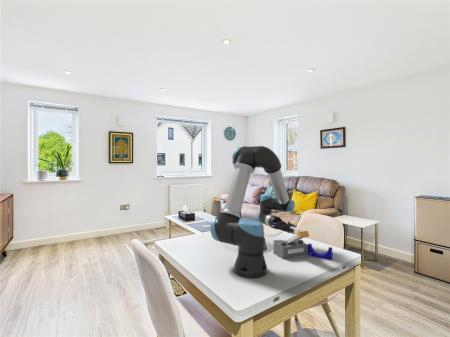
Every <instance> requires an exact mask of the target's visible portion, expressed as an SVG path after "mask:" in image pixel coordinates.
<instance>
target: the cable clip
mask: <svg viewBox="0 0 450 337" xmlns="http://www.w3.org/2000/svg"><path fill="white" fill-rule="evenodd" d="M307 244H308V255H307V256H309V257H313V258H318V259H323V260H326V261H327V260H328V261H332V259H333V254H334V253H333V247H330V246H328V250H327V251H326V252H325V251H324V252H320V253H319V252H317V251H316V250H315V249H314V248H313V244H312V243H307Z"/></svg>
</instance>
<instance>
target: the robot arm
mask: <svg viewBox="0 0 450 337" xmlns="http://www.w3.org/2000/svg"><path fill="white" fill-rule="evenodd" d="M231 158H232V160H231V161H232V165H233V167H234V170H235V171H234V174H233V177H232V180H231V184H230V187H229V190H228V194H227V198H226V201H225V203H224V204H225V205H224V207H223V210H221V211H219V214H218V216H215V217H213V219H212V221H211V223H210V228H209V229H210V234H211V237H212V238H213V240H215V241H217V242H220V243H222V244H223V243H224V244H228V245H229V244H230V245H233V246H236V247H238V249H237V250H238V252H237V257H236V259H235V262H234V265H233V266H234V268H233V270H234V273H236V274H237V275H238V276H240V277H244V278H249V279H257V278H261V277H264V276H266V275H267V273H268V265H267V262H266V259H265V255H264V250H265V249H264V244H265V243H264V242H265V228H264V225H265V226H268V227H270V228H272V229H274V230H279V231H283V232H286V233H288V234H289V233H292V234H295V235H297V234H296V233H298V232H301V229H299V228H297V227H296V225H295V224H293V223H291V222H290V221H287V222H286V221H284V220H283V219H282V218H281V217H279V216H276V215H274V214H273V213H272V211H278V212H285V213H293V212H294V210H295V208H296V202H295V201H294V199H290V198H289V195H288V194H289V193H288V190H287V187H286V185H285V184H286V183H285V180H284V177H283V174H282V170H281V169H282V164H281V161H280V158H279V156H277V154H276V153H275V152H274V151H273V150H272V149H271V148H269V147H268V146H263V145H258V146H257V145H256V146H253V145H252V146H246V145H245V146H244V145H243V146H238V147H237V148H235V150H234V151H233V153H232V157H231ZM256 168H262V169H263V170H264V172H265V173H266V174H267V177H268V179H269V182H270V185H271V188H272V191H273V194H274V196H275V197H273V195H272V194H268V193H263V194H261V195H260V197H259V198H260V200H259V212H258V213H257V215H256V219H254V218H250V217H249V218H248V217H241V210H242V208H243V203H244V200H245V197H246V192H247V189H248V185H249V181H250V177H251V174H253V173H254V172H255V169H256Z"/></svg>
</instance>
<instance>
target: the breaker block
mask: <svg viewBox="0 0 450 337" xmlns="http://www.w3.org/2000/svg"><path fill="white" fill-rule="evenodd" d="M286 241H287V240H283V241H282V240H281V241H274V242H273V252H272V253H273V254H274V255H276V256H277V257H278V258H280V259H282V260H285V259H291V258H297V257H298V258H299V257H306V256H308V244H309V243H306V242H305V241H304V240H303V239H300V240H299V241H297V242H295V243H288V244H287V243H286Z"/></svg>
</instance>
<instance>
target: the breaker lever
mask: <svg viewBox="0 0 450 337" xmlns="http://www.w3.org/2000/svg"><path fill="white" fill-rule="evenodd" d="M308 237H310V234H309V231H308V230H303V231H300V232H298V233H296V234H295V235H293V236H292V237H290V238H288V239H286V240H285V241H286V243H287V244H288V243H295V242H297V241H299V240H303V239H304V238H308Z"/></svg>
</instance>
